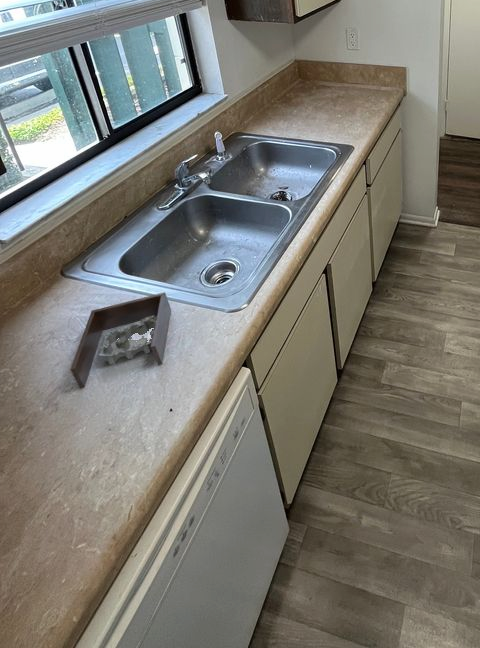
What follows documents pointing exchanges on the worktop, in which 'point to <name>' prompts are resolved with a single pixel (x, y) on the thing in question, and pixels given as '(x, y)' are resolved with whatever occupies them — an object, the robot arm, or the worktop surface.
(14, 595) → the worktop surface
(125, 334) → the egg carton
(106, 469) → the worktop surface
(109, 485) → the worktop surface
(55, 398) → the worktop surface
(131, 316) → the frame
